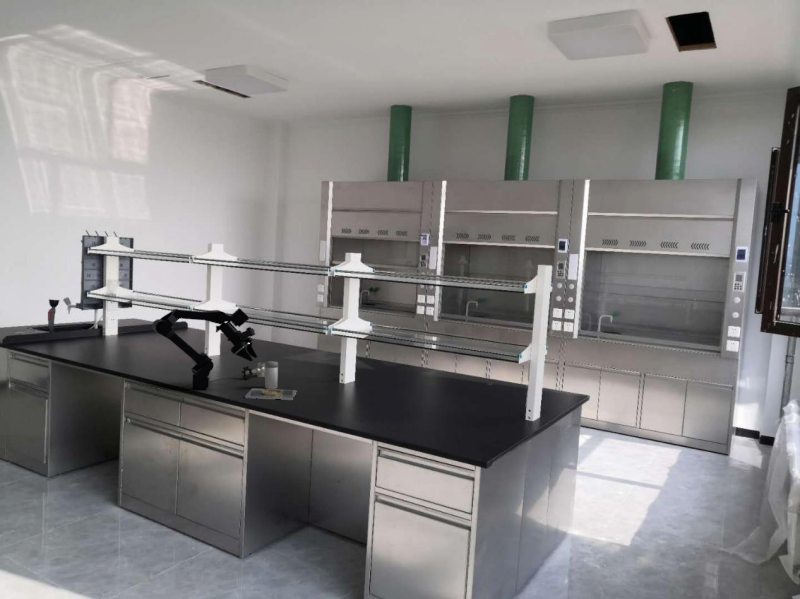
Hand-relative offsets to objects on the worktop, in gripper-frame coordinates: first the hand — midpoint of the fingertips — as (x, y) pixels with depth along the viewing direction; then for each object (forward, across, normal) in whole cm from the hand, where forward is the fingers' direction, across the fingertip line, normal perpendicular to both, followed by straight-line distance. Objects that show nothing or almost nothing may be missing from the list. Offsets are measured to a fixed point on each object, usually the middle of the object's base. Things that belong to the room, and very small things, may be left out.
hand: (254, 359), depth 286 cm
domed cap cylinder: (+15, +1, +3) cm, 15 cm away
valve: (+7, +21, +12) cm, 25 cm away
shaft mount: (+17, -13, +1) cm, 21 cm away
